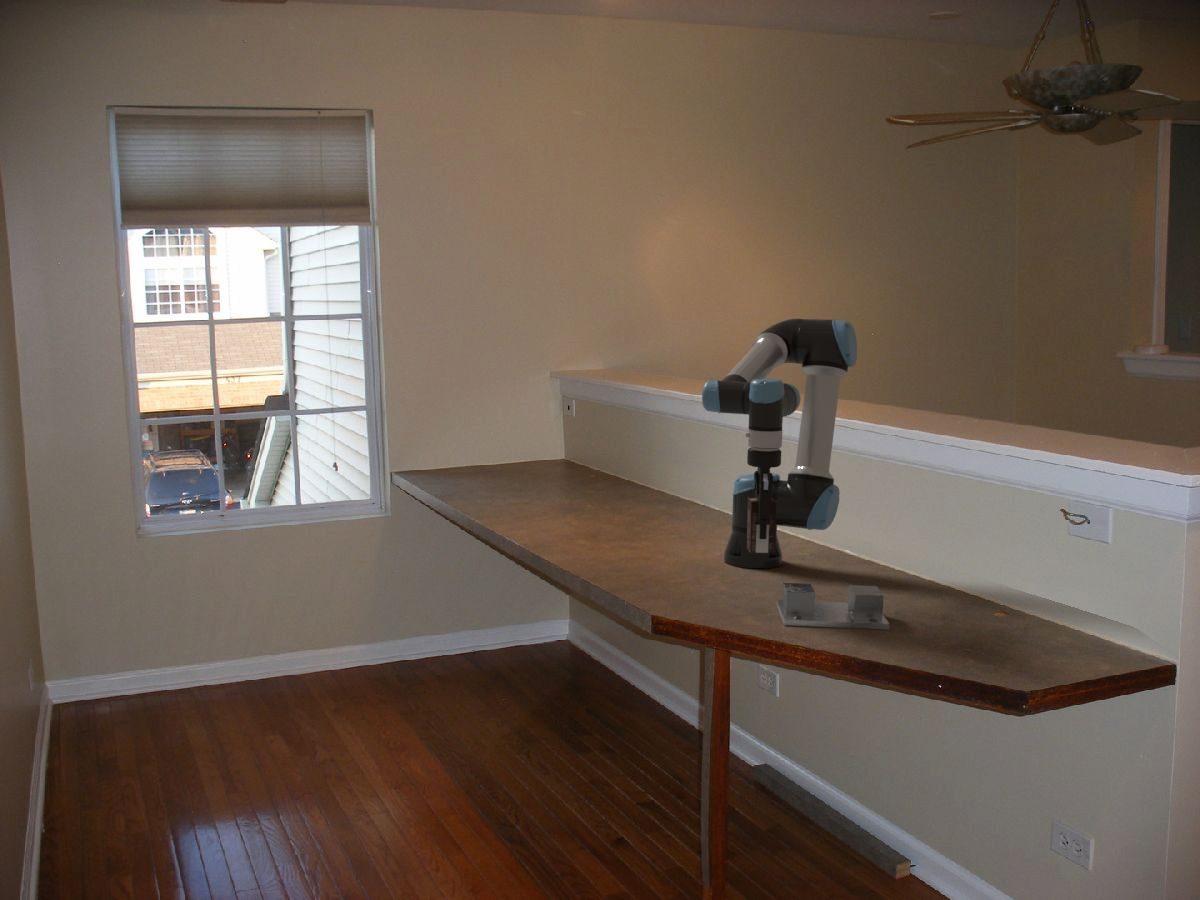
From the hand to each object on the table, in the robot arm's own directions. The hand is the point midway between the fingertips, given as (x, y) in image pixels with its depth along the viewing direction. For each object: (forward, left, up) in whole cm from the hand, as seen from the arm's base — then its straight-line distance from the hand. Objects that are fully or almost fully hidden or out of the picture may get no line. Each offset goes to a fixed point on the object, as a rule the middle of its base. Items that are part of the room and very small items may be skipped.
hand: (760, 549), depth 261 cm
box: (0, 0, -1) cm, 1 cm away
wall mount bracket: (+12, +15, -12) cm, 22 cm away
